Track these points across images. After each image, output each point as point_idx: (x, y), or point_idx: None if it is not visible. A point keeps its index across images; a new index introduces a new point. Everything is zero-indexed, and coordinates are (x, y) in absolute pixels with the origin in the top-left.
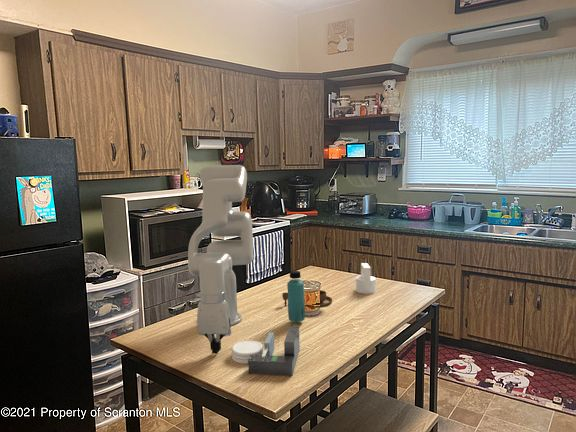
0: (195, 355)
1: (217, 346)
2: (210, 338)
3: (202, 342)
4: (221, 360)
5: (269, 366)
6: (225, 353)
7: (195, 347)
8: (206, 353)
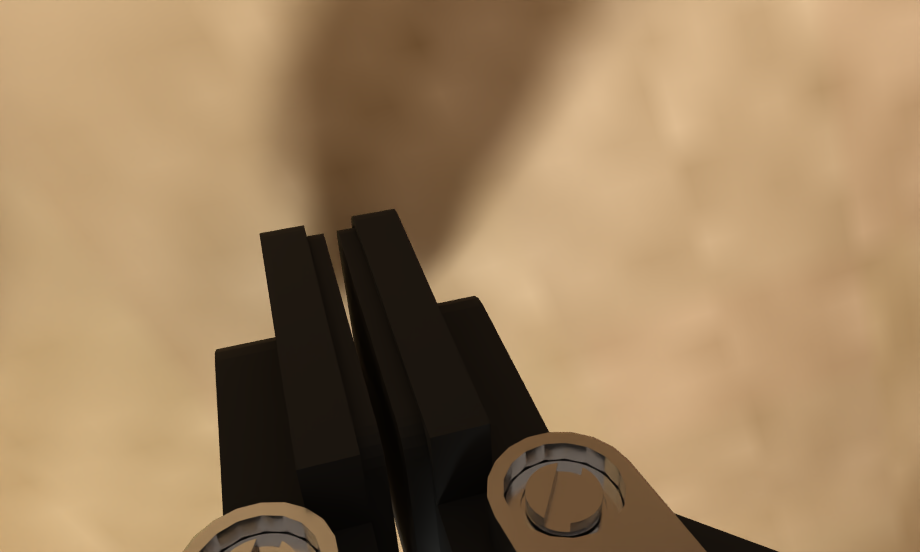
0: (769, 132)
1: (279, 402)
2: (582, 544)
3: (746, 539)
4: (20, 58)
5: None
6: (154, 390)
7: (823, 389)
8: (569, 270)
